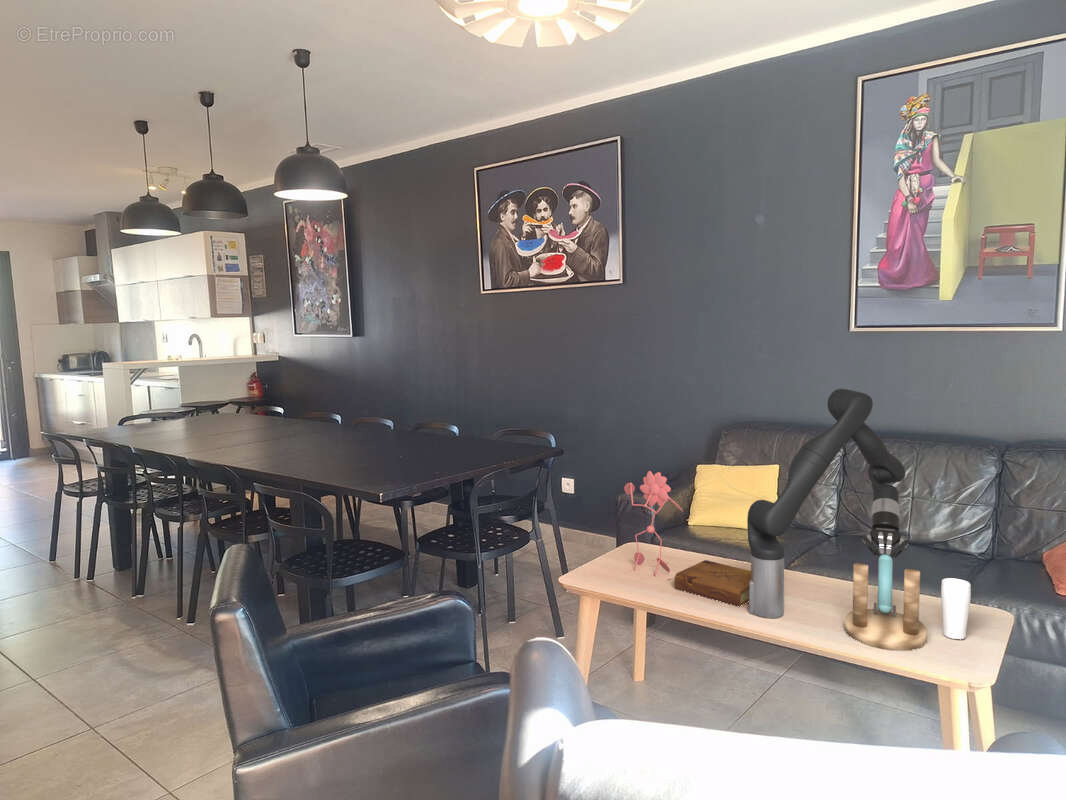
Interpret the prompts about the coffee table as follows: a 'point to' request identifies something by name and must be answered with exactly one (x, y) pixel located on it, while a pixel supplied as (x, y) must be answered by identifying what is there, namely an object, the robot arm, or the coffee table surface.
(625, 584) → the coffee table surface
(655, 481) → the figurine
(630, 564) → the coffee table surface
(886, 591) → the teal capsule cylinder
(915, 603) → the stool
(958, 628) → the drinking glass
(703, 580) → the diary
